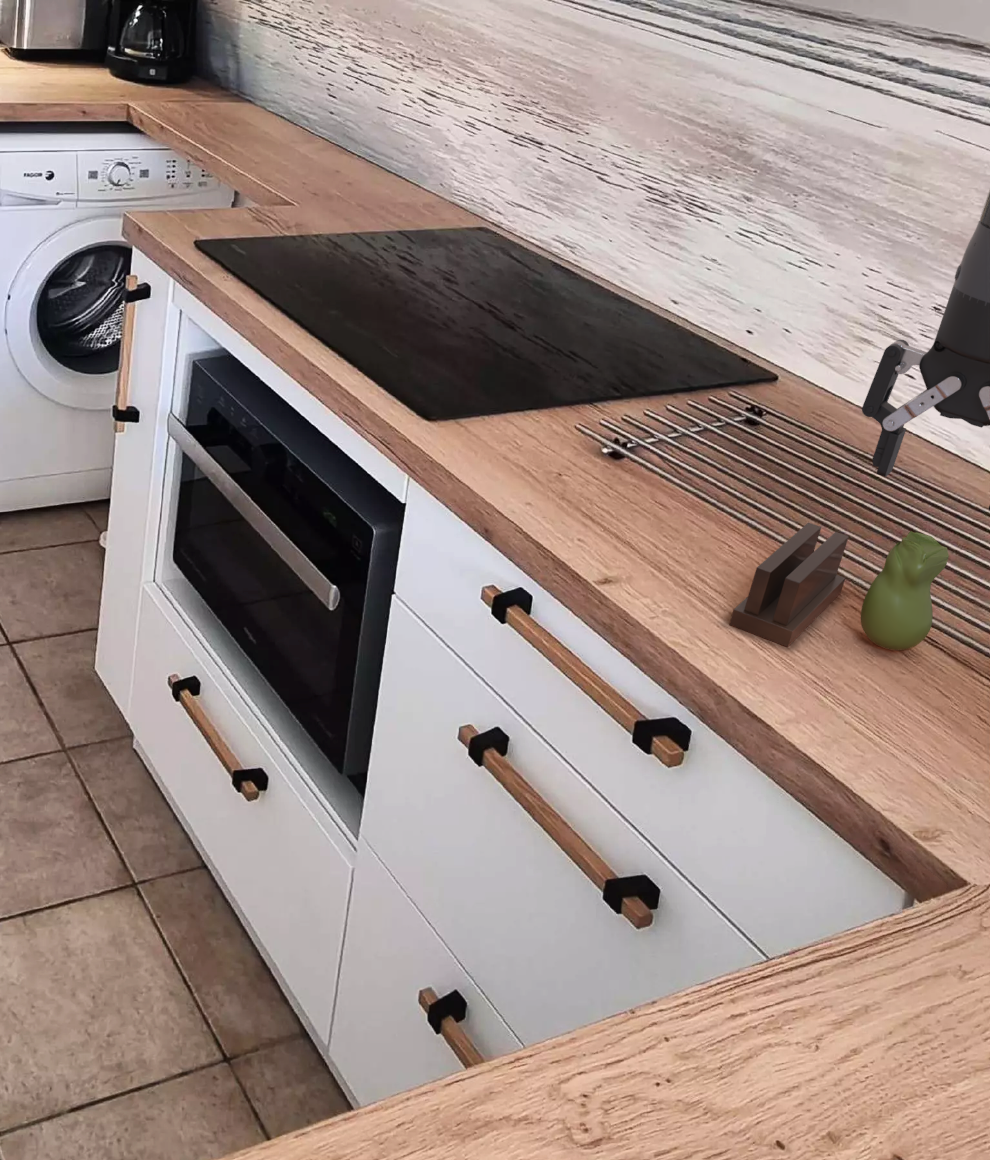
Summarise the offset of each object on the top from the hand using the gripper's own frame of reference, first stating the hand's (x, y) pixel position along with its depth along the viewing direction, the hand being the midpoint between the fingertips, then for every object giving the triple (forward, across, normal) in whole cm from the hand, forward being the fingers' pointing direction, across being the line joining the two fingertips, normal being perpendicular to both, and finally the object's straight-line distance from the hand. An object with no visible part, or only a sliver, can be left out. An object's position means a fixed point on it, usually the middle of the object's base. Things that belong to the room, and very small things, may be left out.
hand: (938, 490), depth 120 cm
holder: (+14, +8, 0) cm, 16 cm away
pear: (+14, 0, 0) cm, 14 cm away
